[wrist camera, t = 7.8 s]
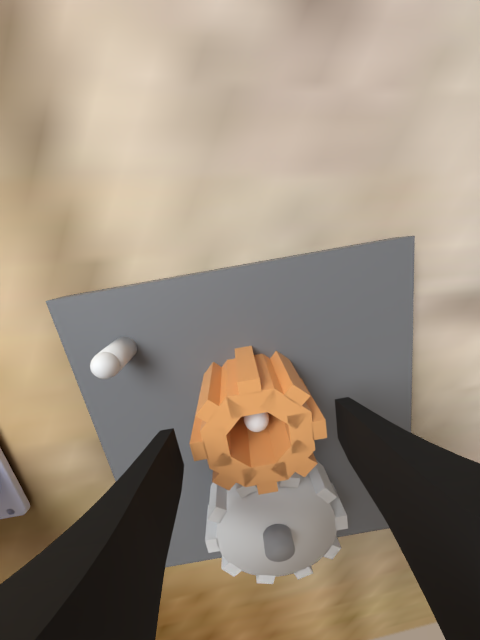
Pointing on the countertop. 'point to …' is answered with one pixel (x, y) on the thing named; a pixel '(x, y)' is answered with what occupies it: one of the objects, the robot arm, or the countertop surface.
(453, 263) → the countertop surface
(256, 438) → the orange gear
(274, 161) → the countertop surface
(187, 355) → the gear board
